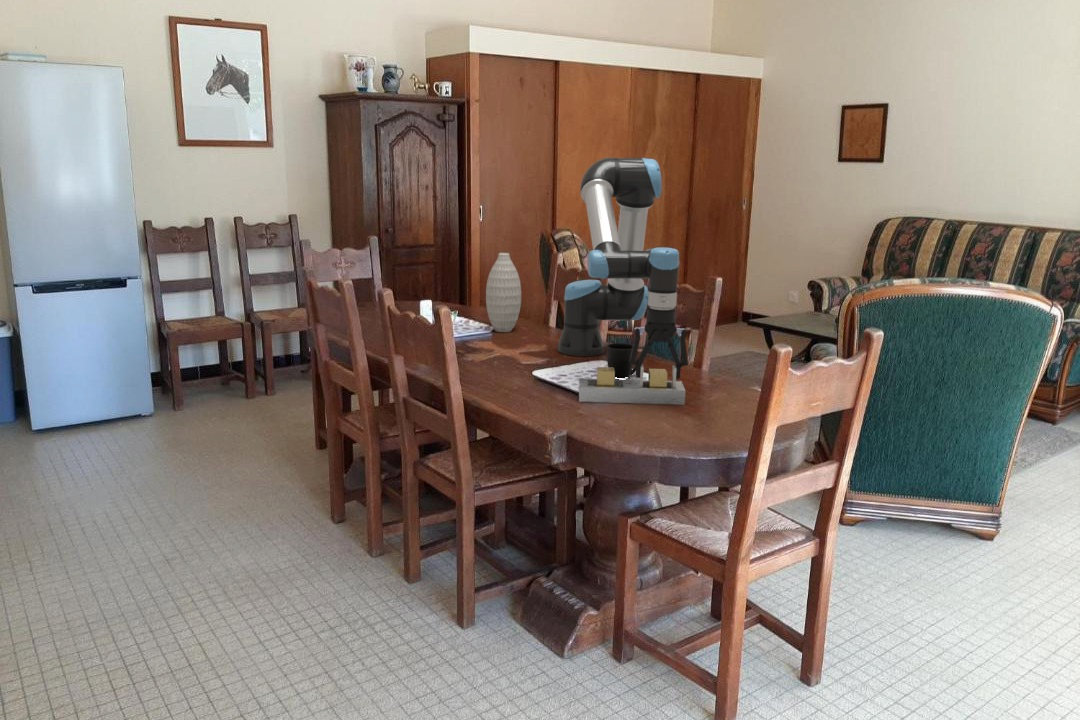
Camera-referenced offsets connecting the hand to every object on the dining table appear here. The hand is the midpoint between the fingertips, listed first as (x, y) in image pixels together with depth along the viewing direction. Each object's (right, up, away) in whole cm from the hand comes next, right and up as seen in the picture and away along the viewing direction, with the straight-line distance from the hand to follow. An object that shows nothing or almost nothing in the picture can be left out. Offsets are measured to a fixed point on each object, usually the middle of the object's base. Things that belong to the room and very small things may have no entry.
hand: (656, 389), depth 232 cm
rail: (-7, -2, 0) cm, 7 cm away
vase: (-45, +19, +81) cm, 95 cm away
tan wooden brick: (-14, -2, +1) cm, 14 cm away
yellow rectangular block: (0, -3, 0) cm, 3 cm away
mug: (-6, +3, +22) cm, 23 cm away
